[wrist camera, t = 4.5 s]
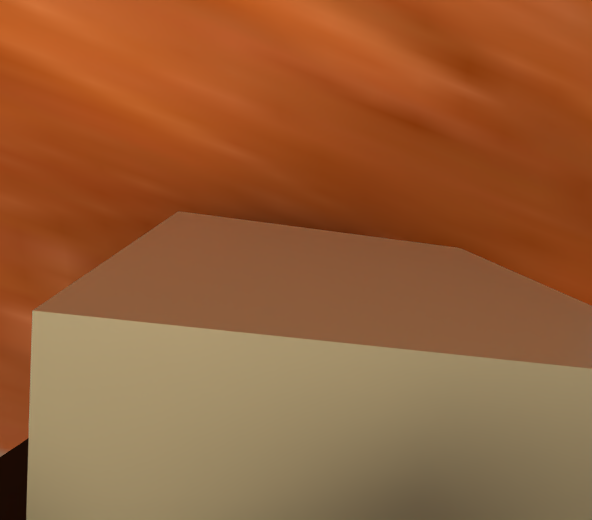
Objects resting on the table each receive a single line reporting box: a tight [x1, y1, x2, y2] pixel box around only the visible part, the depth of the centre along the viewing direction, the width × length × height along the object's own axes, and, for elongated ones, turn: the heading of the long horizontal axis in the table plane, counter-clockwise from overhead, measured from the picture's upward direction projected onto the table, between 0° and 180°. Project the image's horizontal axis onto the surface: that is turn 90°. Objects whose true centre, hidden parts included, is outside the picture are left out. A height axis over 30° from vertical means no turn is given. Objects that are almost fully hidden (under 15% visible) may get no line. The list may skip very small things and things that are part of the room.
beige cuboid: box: [26, 211, 592, 520], centre depth 7 cm, size 7×6×6 cm
